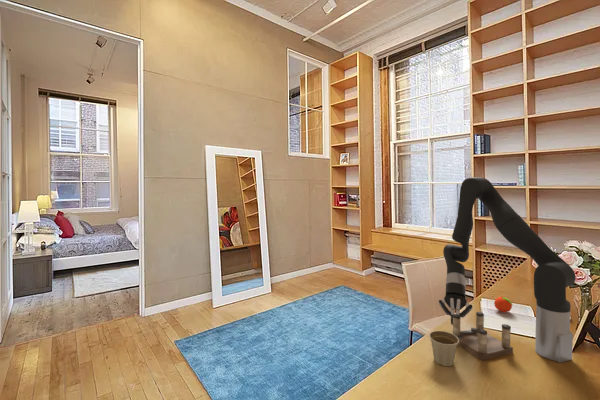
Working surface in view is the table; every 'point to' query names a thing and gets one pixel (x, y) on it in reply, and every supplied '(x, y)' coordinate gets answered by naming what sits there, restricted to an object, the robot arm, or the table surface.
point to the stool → (486, 341)
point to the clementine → (503, 304)
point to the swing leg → (457, 327)
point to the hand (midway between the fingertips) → (454, 325)
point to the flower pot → (444, 347)
